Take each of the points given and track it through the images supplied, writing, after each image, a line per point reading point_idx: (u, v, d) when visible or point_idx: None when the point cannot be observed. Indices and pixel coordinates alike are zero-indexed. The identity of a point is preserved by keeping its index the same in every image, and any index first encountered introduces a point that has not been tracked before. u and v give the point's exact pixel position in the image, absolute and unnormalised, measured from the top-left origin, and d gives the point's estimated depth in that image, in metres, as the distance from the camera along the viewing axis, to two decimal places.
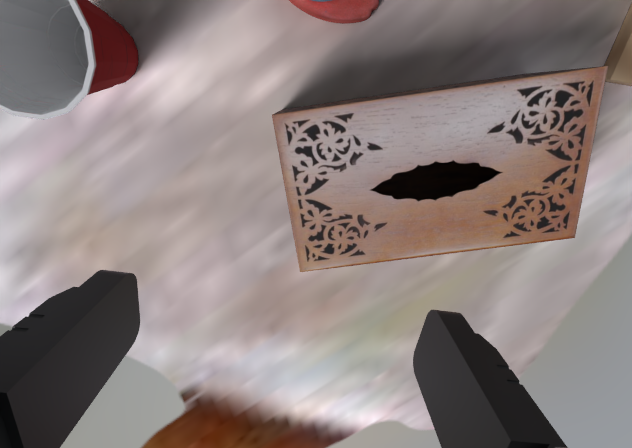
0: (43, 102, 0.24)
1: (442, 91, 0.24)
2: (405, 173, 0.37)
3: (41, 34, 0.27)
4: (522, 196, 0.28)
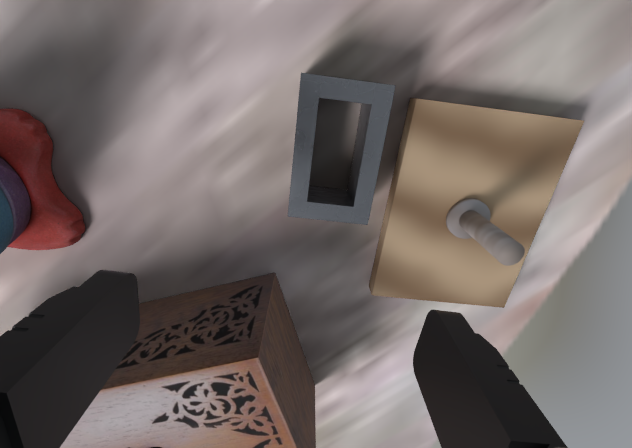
0: None
1: None
2: None
3: None
4: None
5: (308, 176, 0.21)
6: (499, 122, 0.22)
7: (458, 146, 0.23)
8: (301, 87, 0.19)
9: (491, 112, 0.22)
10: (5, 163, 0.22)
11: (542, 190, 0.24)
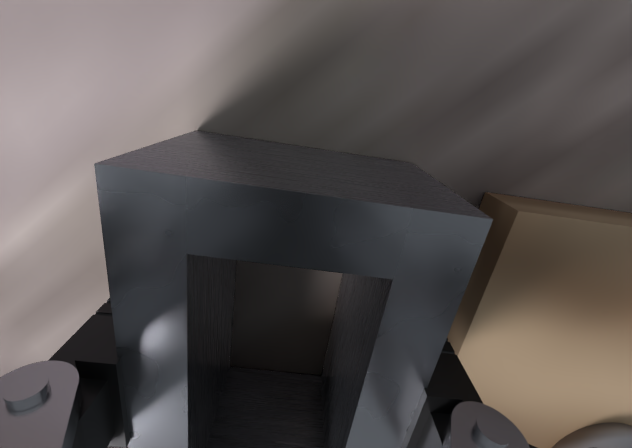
0: None
1: None
2: None
3: None
4: None
5: None
6: None
7: (610, 324, 0.09)
8: (108, 217, 0.05)
9: None
10: None
11: None
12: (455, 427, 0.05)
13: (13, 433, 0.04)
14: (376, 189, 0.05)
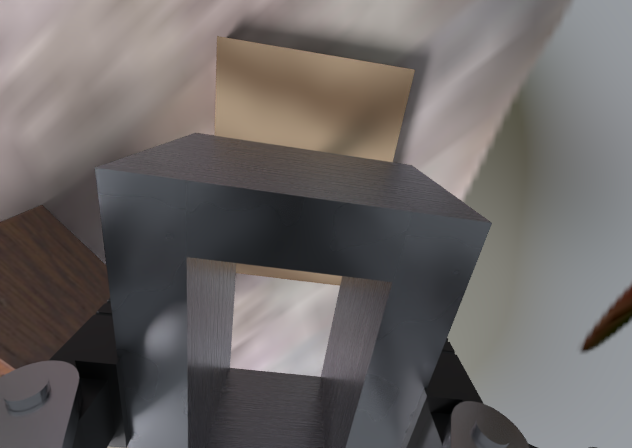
0: None
1: None
2: None
3: None
4: None
5: None
6: (318, 68, 0.19)
7: (276, 96, 0.20)
8: (109, 221, 0.05)
9: (306, 56, 0.19)
10: None
11: (381, 151, 0.21)
12: (455, 427, 0.05)
13: (13, 433, 0.04)
14: (375, 192, 0.05)
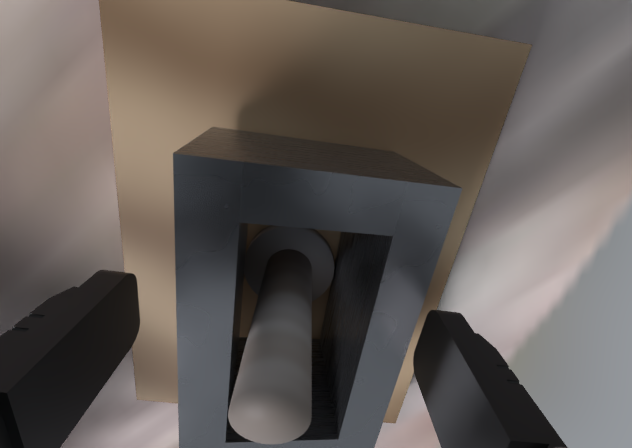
0: None
1: None
2: None
3: None
4: None
5: (224, 397, 0.08)
6: (324, 41, 0.09)
7: (235, 101, 0.09)
8: (179, 195, 0.06)
9: (299, 13, 0.09)
10: None
11: None
12: None
13: None
14: (377, 170, 0.07)
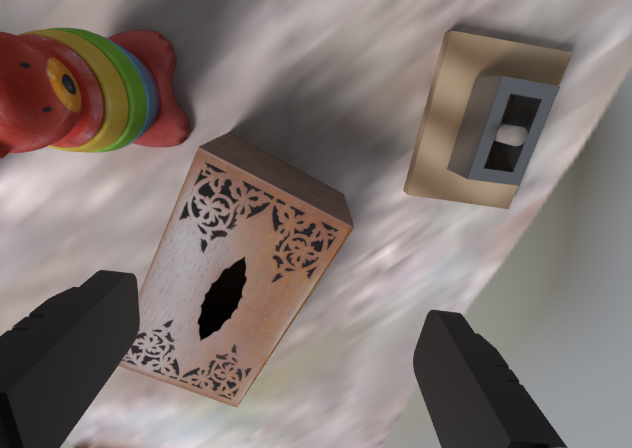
0: None
1: (151, 267, 0.29)
2: None
3: None
4: (279, 250, 0.29)
5: (489, 149, 0.29)
6: (510, 51, 0.30)
7: (479, 69, 0.30)
8: (500, 86, 0.27)
9: (505, 43, 0.30)
10: (148, 69, 0.29)
11: None
12: None
13: None
14: None
